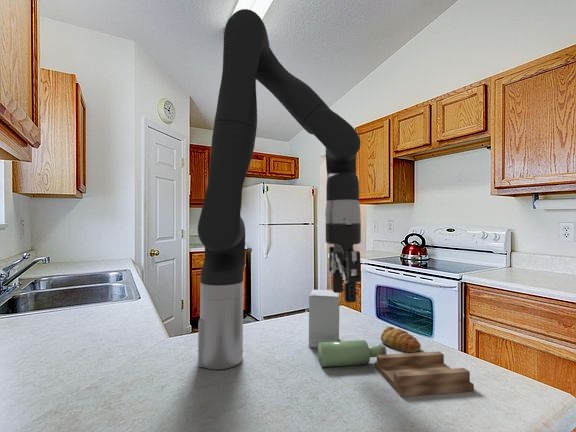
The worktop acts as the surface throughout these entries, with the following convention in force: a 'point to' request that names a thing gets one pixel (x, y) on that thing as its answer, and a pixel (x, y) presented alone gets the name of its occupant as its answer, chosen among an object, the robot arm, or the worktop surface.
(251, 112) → the robot arm
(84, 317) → the worktop surface
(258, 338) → the worktop surface
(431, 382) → the cradle
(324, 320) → the supplement box
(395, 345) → the pastry
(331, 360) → the bottle
